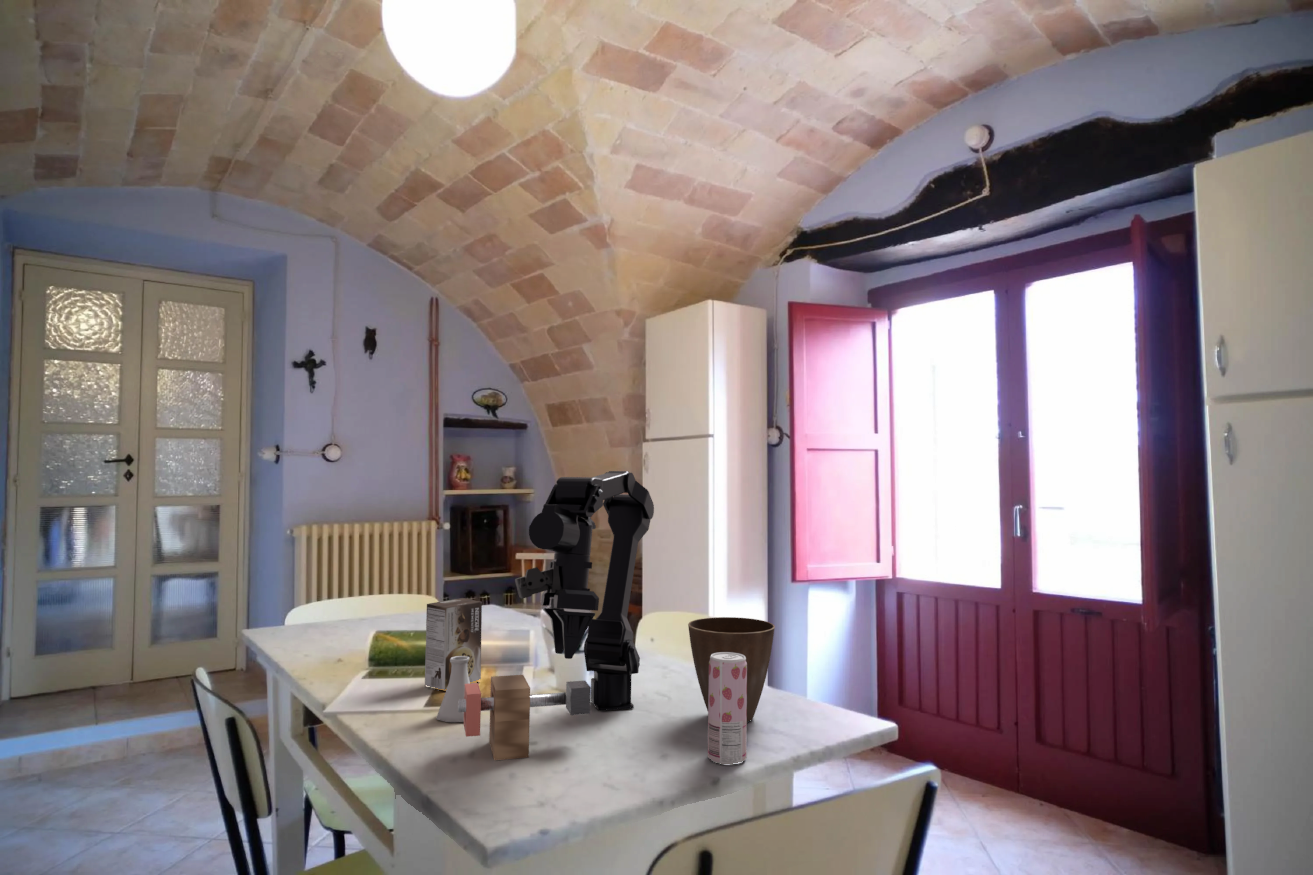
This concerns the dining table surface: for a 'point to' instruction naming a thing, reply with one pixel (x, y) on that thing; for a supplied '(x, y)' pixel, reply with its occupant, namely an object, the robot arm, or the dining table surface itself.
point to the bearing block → (509, 717)
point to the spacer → (472, 709)
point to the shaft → (551, 699)
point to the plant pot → (737, 638)
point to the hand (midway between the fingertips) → (563, 655)
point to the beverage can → (727, 707)
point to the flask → (454, 691)
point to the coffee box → (452, 639)
